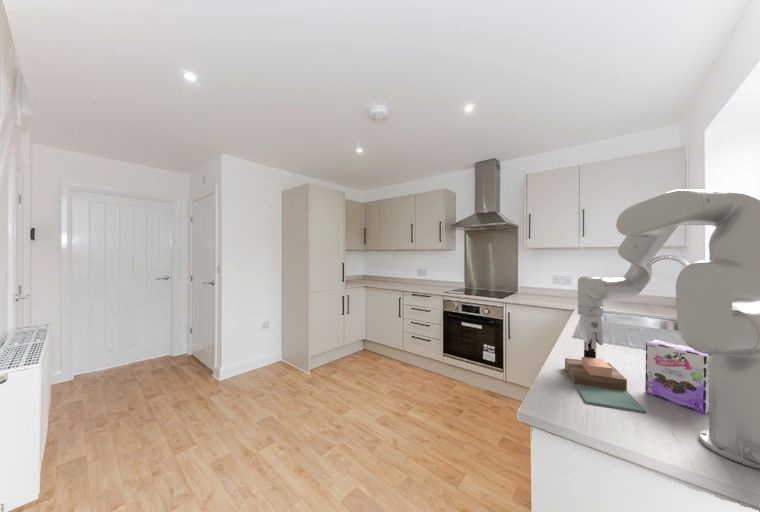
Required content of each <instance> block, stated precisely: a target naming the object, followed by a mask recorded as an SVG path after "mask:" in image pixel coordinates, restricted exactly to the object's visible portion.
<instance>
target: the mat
mask: <svg viewBox="0 0 760 512" xmlns="http://www.w3.org/2000/svg"><path fill="white" fill-rule="evenodd" d="M574 386H575V388H576V390H577V391H578V392H579V394H580V396H581V398H582V400H583V401H584V402H585V404H588V405H594V406H599V407H607V408H612V409H619V410H624V411H631V412H637V413H643V414H647V410H646V409H645V408H644V407H643V405H642V404H640V403H639V401H637V400H636V398H635V397H634V396H633V395H632V394H631V393H630V392H629V391H628V390H627V391H623V390H616V389H609V388H602V387H595V386H588V385H581V384H574Z"/></svg>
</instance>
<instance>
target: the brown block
mask: <svg viewBox="0 0 760 512" xmlns="http://www.w3.org/2000/svg"><path fill="white" fill-rule="evenodd" d="M606 363H607V364H608V365H609V366H610V367H611V368H612V377H604V376H596V375H590V374H589V373H588V372H587V371H586V370H585V368H584V367H583V366H582V359H576V358H568V357H567V358H566V357H565V358H564V369H565V371H566V373H567V372H568V373H567V375H568V376H569V378H570V380H571V381H572V383H573V384H574V385H575V384H581V385H588V386H595V387H602V388H609V389H616V390H623V391H628V387H627V386H628V385H627V384H628V380H627V378H625V376H624V375H623V374H622V373H621V372H619V371H618V370H617V369H616V367H614V366H613V365H612V364H611V363H609V362H606Z"/></svg>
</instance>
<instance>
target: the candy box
mask: <svg viewBox="0 0 760 512" xmlns="http://www.w3.org/2000/svg"><path fill="white" fill-rule="evenodd" d="M711 358H712V355H711V354H705V353H701V352H698V351H696V350H694V349H692V348H691V347H689V346H685V345H681V344H675V343H671V342H667V341H663V340H659V339H651V340H648V341H646V342H645V393H647V394H650V395H652V396H655V397H657V398H660V399H662V400H666V401H669V402H670V403H673V404H676V405H679V406H680V407H684V408H687V409H690V410H691V411H692V410H693V411H695V412H698V413H701V414H703V415H706V414H709V367H710V361H711Z"/></svg>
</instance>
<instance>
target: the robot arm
mask: <svg viewBox="0 0 760 512" xmlns="http://www.w3.org/2000/svg"><path fill="white" fill-rule="evenodd" d="M615 225H616V226H615V227H616V229H617V231H618V232H619V233H620V234H621V235H623V236H625V237H624V239H623V240H622V242H621V243H620V245H619V247H618V248H617V254H618V255H619V256H620V257H621V258H622V259H623V260H625V261H627V262H629V263H630V266H629V269H628V270H626V271H627V272H626V273H625V274H624V275H623V277H599V276H586V275H585V276H584V275H583V276H580V277H578V280H577V315H580V319H579V335H580V338H581V339H582V340H583V347H584V348H583V357H589V358H597V344H598V345H599V346H603V345H604V331H603V330H604V329H603V328H604V327H603V321H602V318H603V317H604V302H605V301H629V300H632V299H635V298H636V297H638V296H639V295H640V294H641V293H642V292H643V291H644V290H645V288H646V287H647V286H648V284H649V283H650V282H651V279H652V273H653V268H652V261H653V259H654V258H655V256H656V255H657V254H658V252H660V250H661V249H662V247H663V246H664V245H665V244H666V242H668V240H669V239H670V237H671V236H672V235H673V233H674V232H675V231H676V229H677V228H678V226H713V227H715V229H714V230H713V231H712V233H711V235H710V238H709V242H708V251H709V259H707V260H705V259H704V260H699V261H698V260H697V261H694V262H692V263H689V264H688V265H686V266H685V267H683V268H682V270H681V271H680V272H679V273H678V275H677V279H676V283H675V296H676V297H675V298H676V299H675V300H676V317H677V319H676V321H677V329H678V332H679V335H680V337H681V339H682V340H683V342H684V343H685V344H686V345H687V347H690V348H692V349H694V350H696V351H698V352H701V353H705V354H711V355H712V358H711V361H710V367H709V413H708V429H702V430H701V431H700V430H699V433H698V440H700V442H701V443H702V444H703V445H704V446H705V447H706V448H708V449H710V450H711V451H713V452H714V453H716V454H717V455H720V456H722V457H725V458H726V459H728V458H729V460H731V461H733V460H734V462H736V463H738V462H739V463H738V464H741V463H742V464H741V465H745V466H747V467H751V468H755V469H758V470H760V311H758V310H755V309H754V310H753V309H749V308H748V309H747V308H733V304H747V303H748V304H749V303H756V302H759V301H760V199H759V198H758V197H756V196H754V195H753V194H749V193H745V192H741V191H734V190H727V189H726V190H725V189H724V190H722V189H674V190H671V191H667V192H664V193H661V194H659V195H655V196H654V197H651V198H649V199H647V200H642V201H640V202H638V203H636V204H633V205H630V206H629V207H628V208H626V209H624V210H623V211H621V213H619V215H618V217H617V219H616V224H615Z"/></svg>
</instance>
